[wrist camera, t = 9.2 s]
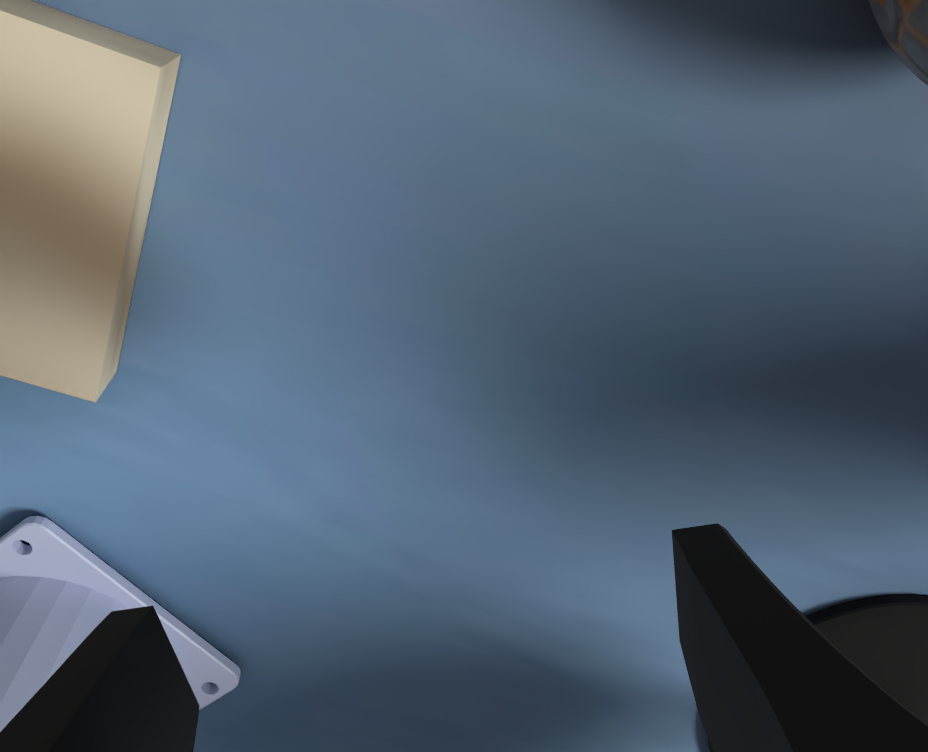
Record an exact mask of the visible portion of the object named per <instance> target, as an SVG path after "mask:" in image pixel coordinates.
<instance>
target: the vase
mask: <svg viewBox="0 0 928 752" xmlns="http://www.w3.org/2000/svg"><path fill="white" fill-rule="evenodd" d="M868 1H869V4H870V6H871V9H872V12H873V14H874V17H875V19H876V21H877V23H878V26H879V28H880V30H881V32H882V34H883V35H884V37H885V38H886V40H887V42H888V43H889V45H890V46H891V47H892V49H893V50H894V51H895V53H896V54H897V55H898V57H899V58H900V59H901V60H902V62H903V63H904V64H905V65H906V66H907V67H908V68H909V69H910V70H911V71H912V73H914V74H915V75H916V76H917V77H918V78H919V79H920V80H921V81H923V82H924V83H926V84H927V85H928V0H868Z"/></svg>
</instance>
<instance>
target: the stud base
mask: <svg viewBox="0 0 928 752" xmlns="http://www.w3.org/2000/svg"><path fill="white" fill-rule="evenodd" d="M180 57H181V55H180V54H178V53H175V52H172V51H169V50H167V49H164V48H161V47H158V46H156V45H153V44H150V43H147V42H145V41H142V40H139V39H136V38H134V37H131V36H128V35H125V34H122V33H120V32H117V31H114V30H111V29H109V28H106V27H103V26H100V25H98V24H95V23H92V22H89V21H87V20H84V19H81V18H78V17H75V16H73V15H70V14H67V13H64V12H62V11H59V10H56V9H53V8H51V7H48V6H45V5H42V4H40V3H37V2H34V1H31V0H0V375H1V376H4V377H8V378H11V379H15V380H18V381H22V382H25V383H29V384H32V385H36V386H39V387H43V388H46V389H50V390H53V391H57V392H61V393H64V394H68V395H71V396H75V397H78V398H82V399H85V400H89V401H92V402H96V401H97V400H98V398H99V397H100V395H101V394H102V392H103V391H104V389H105V388H106V386H107V385H108V383H109V382H110V381H111V379H112V378H113V376H114V375H115V373H116V372H117V367H118V362H119V357H120V352H121V347H122V342H123V337H124V332H125V328H126V323H127V318H128V313H129V308H130V303H131V298H132V293H133V288H134V283H135V278H136V274H137V269H138V264H139V259H140V254H141V249H142V244H143V239H144V234H145V229H146V224H147V220H148V215H149V210H150V205H151V200H152V195H153V190H154V185H155V180H156V175H157V170H158V166H159V161H160V156H161V151H162V146H163V141H164V136H165V131H166V126H167V121H168V116H169V112H170V107H171V102H172V97H173V92H174V87H175V82H176V77H177V72H178V67H179V62H180Z"/></svg>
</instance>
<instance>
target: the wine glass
mask: <svg viewBox="0 0 928 752" xmlns="http://www.w3.org/2000/svg"><path fill="white" fill-rule="evenodd" d="M806 618H807V619H808V620H809V621H810V622H811V623H812V624H813V625H814V626H815V627H816V628H817V629H818V630H819V631H820V632H822V633H823V634H824V635H825V636H826V637H827V638H828V639H829V640H830V641H831V642H832V643H833V644H834V645H835V646H836V647H837V648H838V649H839V650H840V651H842V652H843V653H844V654H845V655H846V656H847V657H848V658H849V659H850V660H851V661H852V662H854V663H855V664H856V665H857V666H858V667H859V668H860V669H861V670H863V671H864V672H865V673H866V674H867V675H868V676H869V677H871V678H872V679H873V680H874V681H875V682H876V683H877V684H879V685H880V686H881V687H882V688H883V689H884V690H886V691H887V692H888V693H889V694H890V695H892V696H893V697H894V698H895V699H896V700H897V701H899V702H900V703H901V704H902V705H904V706H905V707H906V708H907V709H908V710H910V711H911V712H912V713H913V714H915V715H916V716H917V717H918V718H920V719H921V720H922V721H924V722H925V723H926V724H927V725H928V596H918V595H908V596H884V597H877V598H870V599H863V600H858V601H854V602H850V603H846V604H842V605H838V606H834V607H831V608H829V609H826V610H823V611H820V612H818V613H815V614H812V615H809V616H807V617H806ZM708 743H709V747H710V750H711V752H713V749H712V747H711V744H710V741H709V739H708Z"/></svg>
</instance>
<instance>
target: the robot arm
mask: <svg viewBox="0 0 928 752" xmlns="http://www.w3.org/2000/svg"><path fill="white" fill-rule="evenodd" d="M672 539H673V553H674V567H675V581H676V595H677V609H678V623H679V638H680V643H681V647H682V651H683V655H684V659H685V663H686V667H687V671H688V674H689V678H690V682H691V686H692V690H693V693H694V697H695V701H696V705H697V708H698V712H699V715H700V717H701V720H702V723H703V725H704V728H705V731H706V733H707V736H708V739H709V741H710V744H711V747H712V749H713V752H928V725H927V724H926V723H925V722H924V721H922V720H921V719H920V718H918V717H917V716H916V715H915V714H913V713H912V712H911V711H910V710H908V709H907V708H906V707H905V706H904V705H902V704H901V703H900V702H899V701H897V700H896V699H895V698H894V697H893V696H892V695H890V694H889V693H888V692H887V691H886V690H884V689H883V688H882V687H881V686H880V685H879V684H877V683H876V682H875V681H874V680H873V679H872V678H871V677H869V676H868V675H867V674H866V673H865V672H864V671H863V670H861V669H860V668H859V667H858V666H857V665H856V664H855V663H854V662H852V661H851V660H850V659H849V658H848V657H847V656H846V655H845V654H844V653H843V652H842V651H840V650H839V649H838V648H837V647H836V646H835V645H834V644H833V643H832V642H831V641H830V640H829V639H828V638H827V637H826V636H825V635H824V634H823V633H822V632H820V631H819V630H818V629H817V628H816V627H815V626H814V625H813V624H812V623H811V622H810V621H809V620H808V619H807V618H806V617H805V616H804V615H803V614H802V613H801V612H800V611H799V610H798V609H797V608H796V607H795V606H794V605H793V604H792V603H791V602H790V601H789V600H788V599H787V598H786V597H785V596H784V595H783V594H782V592H781V591H780V590H779V589H778V588H777V587H776V586H775V585H774V584H773V583H772V582H771V581H770V580H769V578H768V577H767V576H766V575H765V574H764V573H763V572H762V571H761V570H760V569H759V568H758V566H757V565H756V564H755V563H754V562H753V561H752V560H751V558H750V557H749V556H748V555H747V554H746V553H745V552H744V550H743V549H742V548H741V547H740V546H739V544H738V543H737V542H736V541H735V540H734V538H733V537H732V536H731V535H730V533H729V532H728V531H727V530H726V529H725V528H724V527H722V526H721V525H719V524H718V523H717V524H710V525H704V526H697V527H690V528H683V529H676V530H672ZM20 540H24V541H26V542H28V543H29V544H30V545H31V546H30V545H25V544H23V543H22V542H21V541H20ZM240 675H241V672H240V668H239V667H238V666H237V665H236V664H235V663H233V662H232V661H231V660H229V659H228V658H227V657H226V656H224V655H223V654H222V653H220V652H219V651H218V650H217V649H215V648H214V647H213V646H211V645H210V644H209V643H208V642H206V641H205V640H204V639H202V638H201V637H200V636H199V635H197V634H196V633H195V632H193V631H192V630H191V629H190V628H188V627H187V626H186V625H184V624H183V623H182V622H181V621H179V620H178V619H177V618H175V617H174V616H173V615H172V614H170V613H169V612H168V611H166V610H165V609H164V608H163V607H161V606H160V605H159V604H157V603H156V602H155V601H154V600H152V599H151V598H150V597H148V596H147V595H146V594H145V593H143V592H142V591H141V590H139V589H138V588H137V587H136V586H134V585H133V584H132V583H130V582H129V581H128V580H127V579H125V578H124V577H123V576H121V575H120V574H119V573H118V572H116V571H115V570H114V569H112V568H111V567H110V566H109V565H107V564H106V563H105V562H103V561H102V560H101V559H100V558H98V557H97V556H96V555H94V554H93V553H92V552H91V551H89V550H88V549H87V548H85V547H84V546H83V545H82V544H80V543H79V542H78V541H76V540H75V539H74V538H73V537H71V536H70V535H69V534H67V533H66V532H65V531H64V530H62V529H61V528H60V527H58V526H57V525H56V524H55V523H53V522H52V521H50V520H49V519H47V518H45V517H41V516H30V517H28V518H26V519H24V520H23V521H21V522H20V523H19V524H17V525H16V526H15V527H13V528H12V529H11V530H10V531H8V532H7V533H6V534H4V535H3V536H2V537H0V752H193V748H194V742H195V735H196V728H197V721H198V714H199V710H200V709H202V708H204V707H205V706H207V705H209V704H210V703H212V702H213V701H215V700H217V699H218V698H220V697H222V696H223V695H225V694H226V693H228V692H230V691H231V690H233V689H234V688H235V687H236V686H238V683H239V679H240ZM208 682H211V683H214V684H210V683H208Z"/></svg>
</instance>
